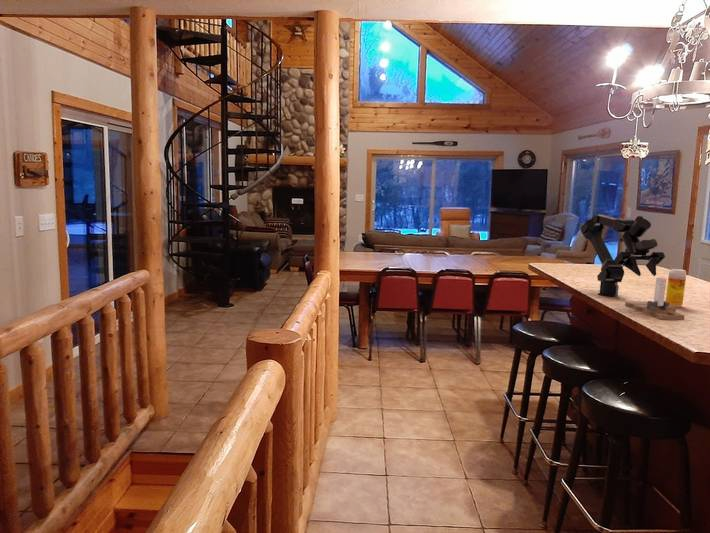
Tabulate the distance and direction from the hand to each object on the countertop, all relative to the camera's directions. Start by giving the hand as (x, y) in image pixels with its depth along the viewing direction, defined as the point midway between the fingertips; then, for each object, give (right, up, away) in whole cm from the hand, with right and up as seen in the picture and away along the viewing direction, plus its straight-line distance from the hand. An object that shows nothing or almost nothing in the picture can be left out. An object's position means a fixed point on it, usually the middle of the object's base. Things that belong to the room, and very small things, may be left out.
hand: (647, 275), depth 209 cm
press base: (0, -14, -3) cm, 15 cm away
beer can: (+15, -13, +8) cm, 21 cm away
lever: (+1, -12, -6) cm, 13 cm away
